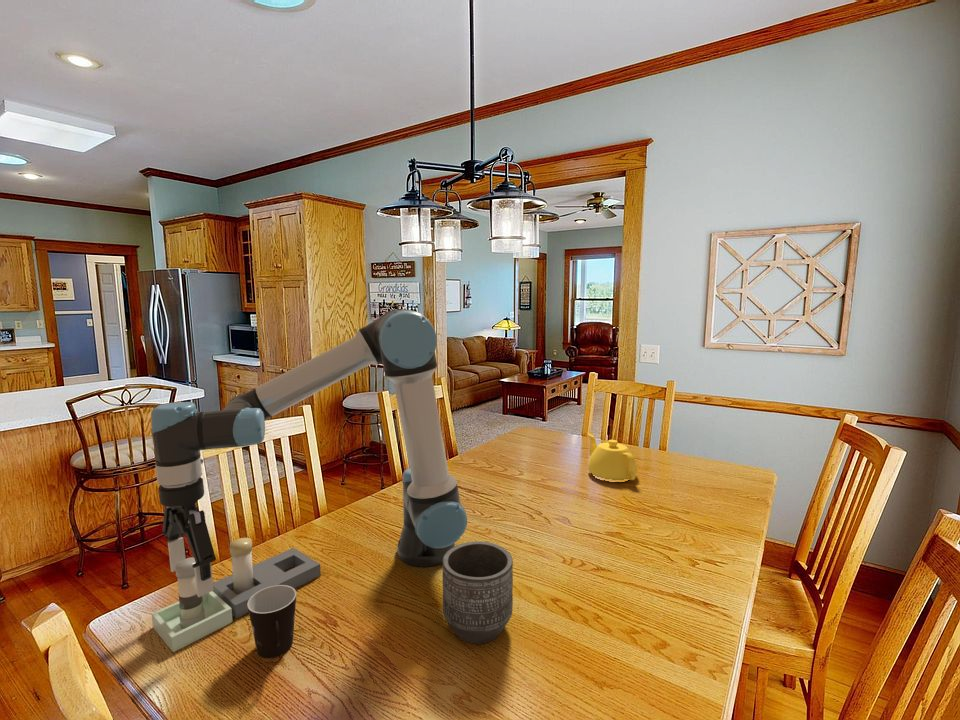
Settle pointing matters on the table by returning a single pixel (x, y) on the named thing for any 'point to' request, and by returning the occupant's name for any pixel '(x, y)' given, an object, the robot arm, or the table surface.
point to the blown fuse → (188, 594)
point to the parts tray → (177, 638)
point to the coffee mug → (273, 619)
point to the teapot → (611, 460)
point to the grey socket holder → (261, 574)
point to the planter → (477, 590)
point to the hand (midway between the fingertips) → (191, 580)
